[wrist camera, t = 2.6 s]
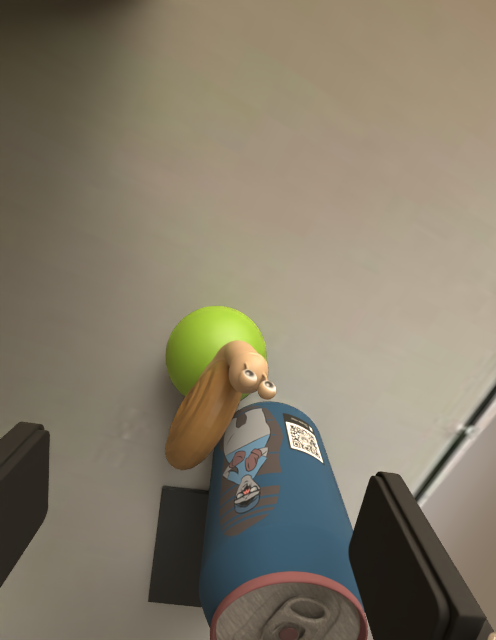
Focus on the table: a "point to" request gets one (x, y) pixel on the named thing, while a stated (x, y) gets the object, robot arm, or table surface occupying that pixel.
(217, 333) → the snail figurine
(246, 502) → the soda can
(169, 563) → the slate mat
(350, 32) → the table surface
